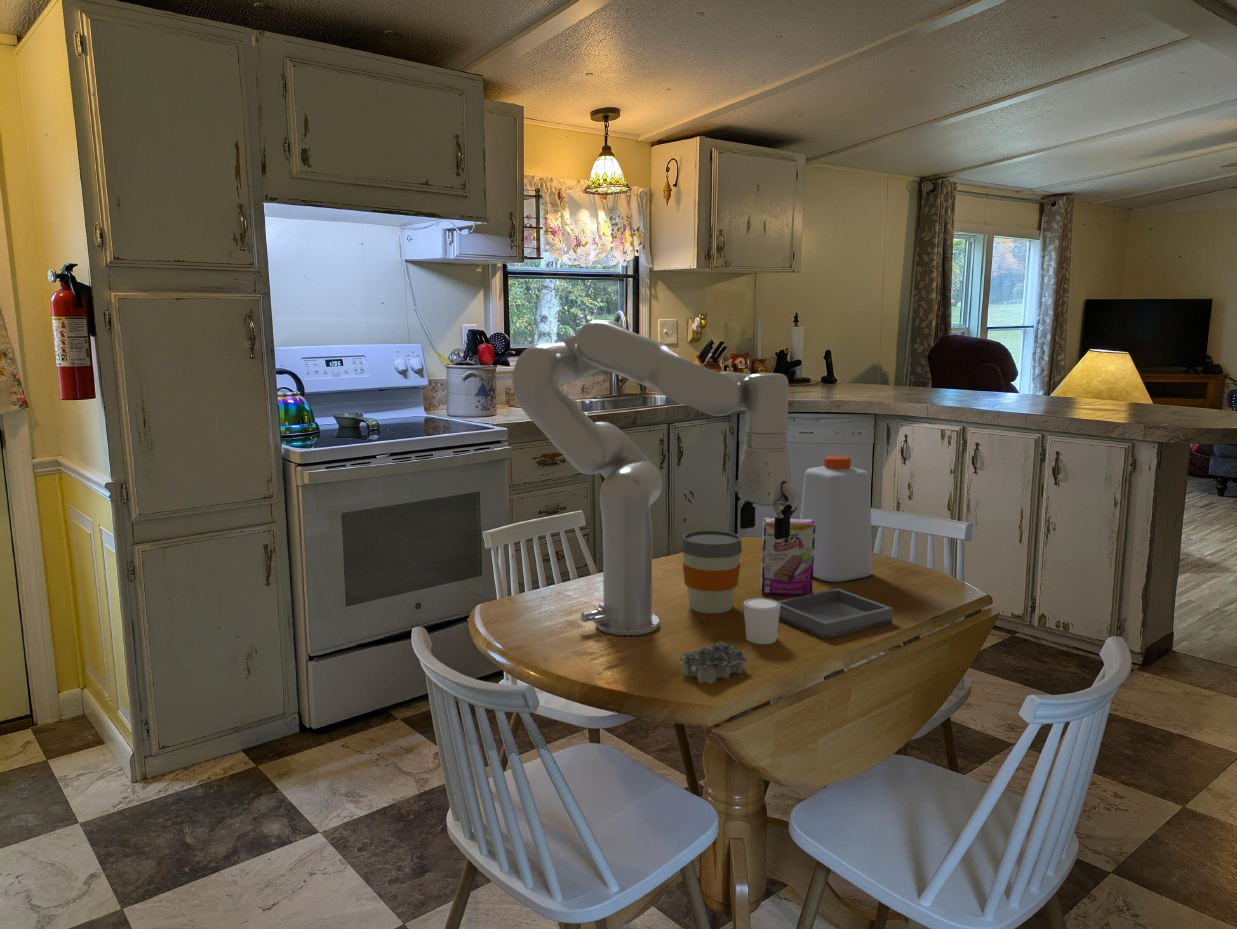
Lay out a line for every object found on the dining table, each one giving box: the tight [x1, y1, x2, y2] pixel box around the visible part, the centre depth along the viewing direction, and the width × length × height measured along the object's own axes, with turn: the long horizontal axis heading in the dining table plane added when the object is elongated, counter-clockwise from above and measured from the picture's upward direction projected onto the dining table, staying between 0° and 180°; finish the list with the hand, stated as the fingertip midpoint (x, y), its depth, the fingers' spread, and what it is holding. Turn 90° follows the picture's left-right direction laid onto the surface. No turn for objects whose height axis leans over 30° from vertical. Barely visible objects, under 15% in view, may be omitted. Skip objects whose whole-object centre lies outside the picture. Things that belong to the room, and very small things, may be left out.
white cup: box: [743, 597, 781, 645], centre depth 159 cm, size 7×7×7 cm
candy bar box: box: [760, 517, 815, 596], centre depth 186 cm, size 11×5×16 cm, turn 84°
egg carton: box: [679, 640, 750, 684], centre depth 144 cm, size 11×8×4 cm
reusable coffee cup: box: [681, 529, 743, 614], centre depth 177 cm, size 13×13×15 cm
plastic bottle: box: [799, 455, 873, 583], centre depth 200 cm, size 15×15×28 cm
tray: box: [776, 588, 894, 640], centre depth 169 cm, size 18×15×3 cm
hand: (764, 533), depth 156 cm, fingers open, 9 cm apart
